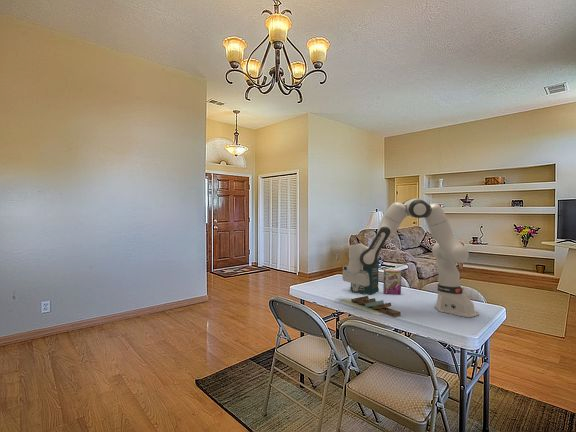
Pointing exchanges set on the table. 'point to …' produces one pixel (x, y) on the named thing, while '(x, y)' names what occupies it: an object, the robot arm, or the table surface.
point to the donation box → (373, 281)
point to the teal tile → (374, 303)
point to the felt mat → (362, 307)
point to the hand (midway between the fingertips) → (355, 290)
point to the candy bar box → (392, 282)
